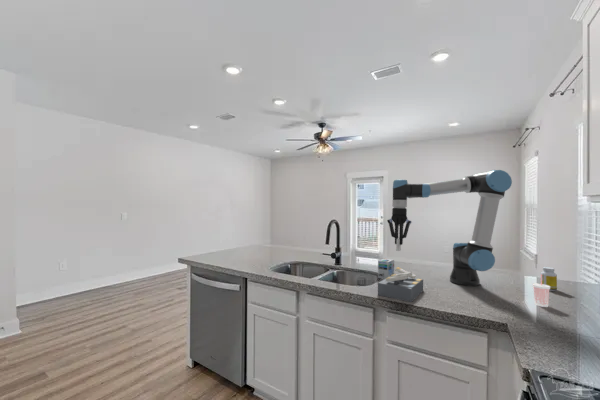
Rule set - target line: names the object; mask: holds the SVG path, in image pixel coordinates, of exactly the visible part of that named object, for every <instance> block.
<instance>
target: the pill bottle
mask: <svg viewBox="0 0 600 400" xmlns="http://www.w3.org/2000/svg"><path fill="white" fill-rule="evenodd" d="M541 274H542V284H544V285H548V286H550V289H549V292H550V291H551V292H555V291H557V290H558V277H557V274H556V273H555V268H554V267H549V266H543V267H542V271H541V272H540V275H541Z"/></svg>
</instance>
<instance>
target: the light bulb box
mask: <svg viewBox="0 0 600 400" xmlns="http://www.w3.org/2000/svg"><path fill="white" fill-rule="evenodd" d="M377 261H378V263H377V265H378V266H377V269H378V270H377V274H378V275H377V278H378V279H382V280H384V279H386V278H387V277H389V276H391V275H393V274H395V259H393V258H386V257H385V258H382V259H379V260H377Z"/></svg>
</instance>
